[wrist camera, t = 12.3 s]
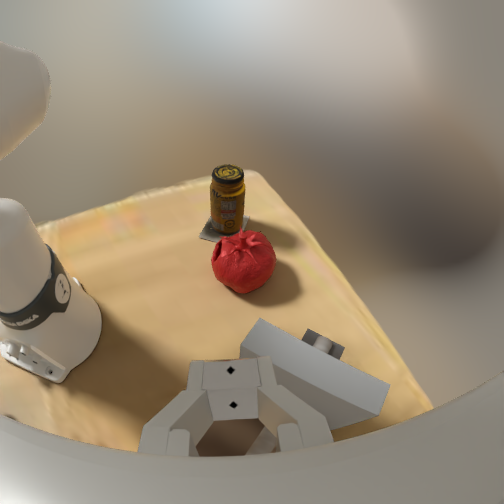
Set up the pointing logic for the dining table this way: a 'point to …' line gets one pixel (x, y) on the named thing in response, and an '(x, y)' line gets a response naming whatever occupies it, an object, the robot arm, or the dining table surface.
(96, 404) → the dining table surface
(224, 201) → the condiment
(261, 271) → the pomegranate
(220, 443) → the pipe rig
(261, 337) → the grey slab
